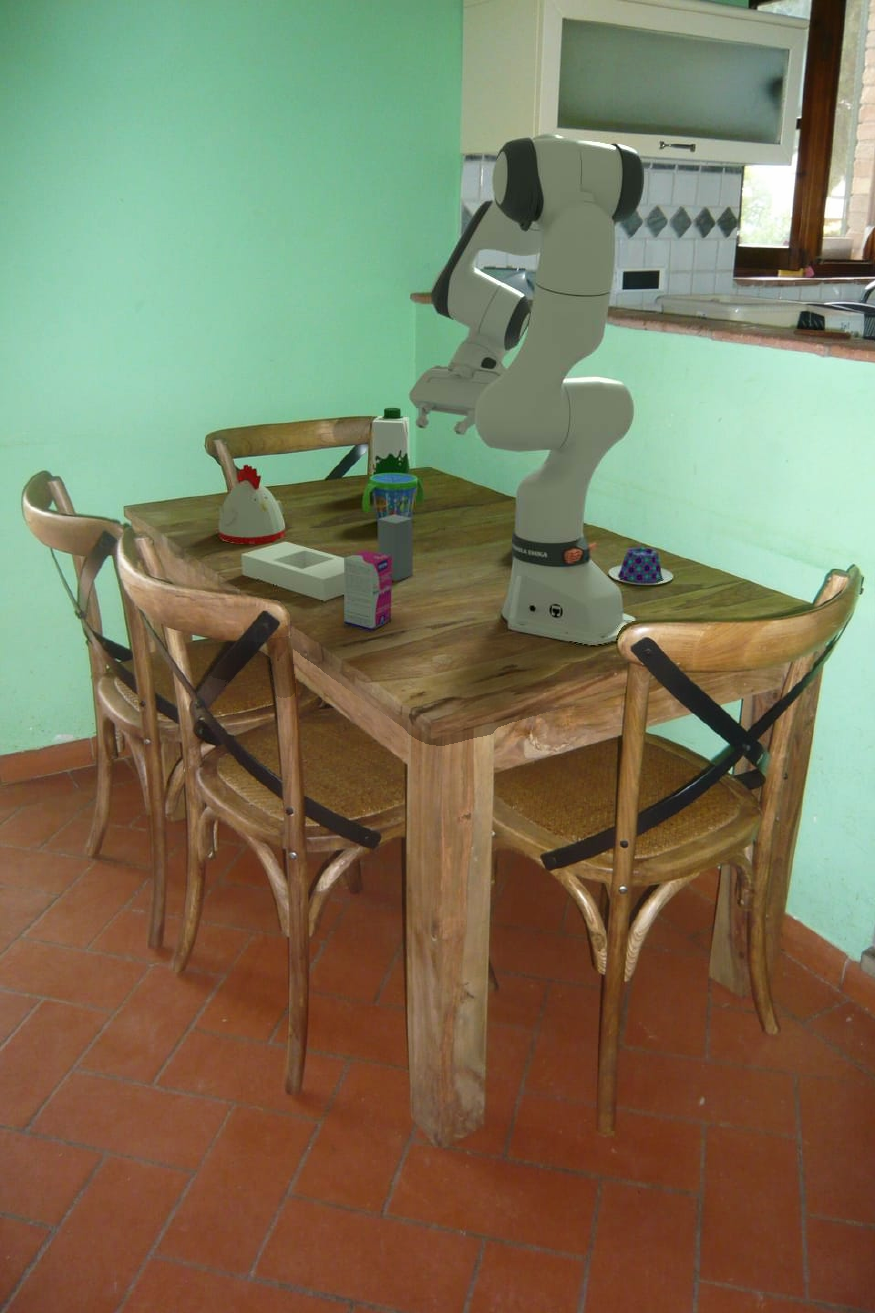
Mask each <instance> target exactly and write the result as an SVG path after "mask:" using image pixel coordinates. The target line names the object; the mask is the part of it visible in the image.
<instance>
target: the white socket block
mask: <svg viewBox="0 0 875 1313" xmlns="http://www.w3.org/2000/svg"><path fill="white" fill-rule="evenodd" d="M240 557H241V558H240V559H241V570H242V571H241V572H242V576H245V577H248V578H251V579H255V580H257V579H260V580H263V581H266V582H265V583H267V582H269V583H268V584H270V583H271V584H270V585H273V584H274V586H276V585H277V587H279V588H283V589H286V590H287V591H292V592H295V593H298V594H301V595H304V596H307V597H310V598H314V599H317V600H320V601H322V600H323V602H326V601H329V600H331V599H334V598H337V597H340V596H342V595H344V558H345V557H342V556H338V555H335V554H332V553H327V552H324V551H320V550H316V549H313V548H309V547H306V546H303V545H299V544H295V543H291V542H288V541H282V542H280V543H275V544H272V545H270V546H264V547H262V548H258V549H256V550H250V551H249V552H245V553H241V554H240ZM260 580H259V581H260ZM263 581H262V582H263ZM325 600H326V601H325Z"/></svg>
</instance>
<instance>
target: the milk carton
mask: <svg viewBox="0 0 875 1313" xmlns="http://www.w3.org/2000/svg"><path fill="white" fill-rule="evenodd" d="M401 411H402V410H401V408H399V407H386V408H384V409H383V416H382V415H379V416H377V417H375V418H374V419H373V421H372V422H371V423H372V424H371V425H372V426H371V428H372V429H371V435H372V438H371V439H372V441H371V444H372V445H371V446H372V450H371V451H372V476H373V475H376V474H382V473H404V474H410V472H411V467H410V466H411V458H410V457H411V454H410V453H411V451H410V450H411V447H410V445H411V444H410V443H411V441H410V440H411V439H410V417H409V416H408V417H407V416H402V415H401ZM410 475H411V474H410Z"/></svg>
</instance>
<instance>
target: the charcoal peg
mask: <svg viewBox="0 0 875 1313" xmlns="http://www.w3.org/2000/svg"><path fill="white" fill-rule="evenodd" d="M377 549H378V550H377V551H378V554H383V555H388V556H391V557H392V579H391V580H392V581H394V582H398V581H401V580H404V579H408V578H410V577H412V576H413V575H414V574H413V563H414V562H413V518H412V517H411V518H408V517H404V516H399V515H395V514H394V515H390V516H387V517H383V518H380V519H378V521H377Z"/></svg>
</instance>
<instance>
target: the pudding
mask: <svg viewBox="0 0 875 1313" xmlns="http://www.w3.org/2000/svg"><path fill="white" fill-rule="evenodd" d="M619 572H620V573H619ZM608 575H609V576H610V577H611V578H612V579H614V580H616V581H619V582H623V583H627V584H631V585H632V584H633V585H638V586H640V585H641V586H643V585H645V586H647V585H648V586H651V585H652V586H653V585H660V584H664V583H668V582H670V581H671V580H673V578H674V574H673V573H672V572H671V571H669V570H668V569H665V568H663V567H661V561H660V555H659V553H658V552H657V550H655V549H651V548H649V547H634V548H633V547H632V548H629V549H628V550H627V551H626V552H625V555H624V558H623V561H622V564H620V565H617V566H613V567H611V568H609V570H608ZM620 579H622V580H620ZM623 579H624V580H623ZM661 579H664V580H663V581H661ZM658 580H659V581H658ZM629 581H631V582H629ZM632 581H633V582H632ZM655 582H656V583H655ZM657 582H658V583H657Z"/></svg>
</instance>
